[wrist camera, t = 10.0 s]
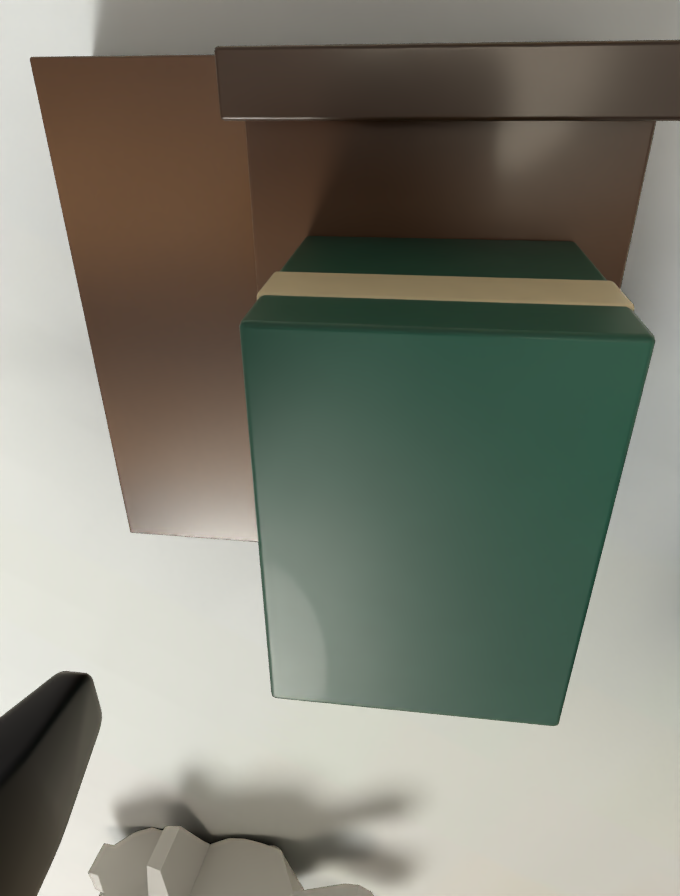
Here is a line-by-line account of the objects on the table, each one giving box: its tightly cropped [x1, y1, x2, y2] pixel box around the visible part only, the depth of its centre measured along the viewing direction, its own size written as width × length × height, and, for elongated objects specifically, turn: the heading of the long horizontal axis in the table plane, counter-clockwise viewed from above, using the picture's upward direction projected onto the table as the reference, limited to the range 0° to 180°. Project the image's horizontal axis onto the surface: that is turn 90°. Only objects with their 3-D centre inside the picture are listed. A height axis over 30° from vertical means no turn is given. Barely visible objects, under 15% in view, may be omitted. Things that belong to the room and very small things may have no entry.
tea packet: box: [239, 236, 655, 726], centre depth 12 cm, size 7×5×5 cm
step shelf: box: [30, 40, 680, 542], centre depth 16 cm, size 13×12×8 cm
